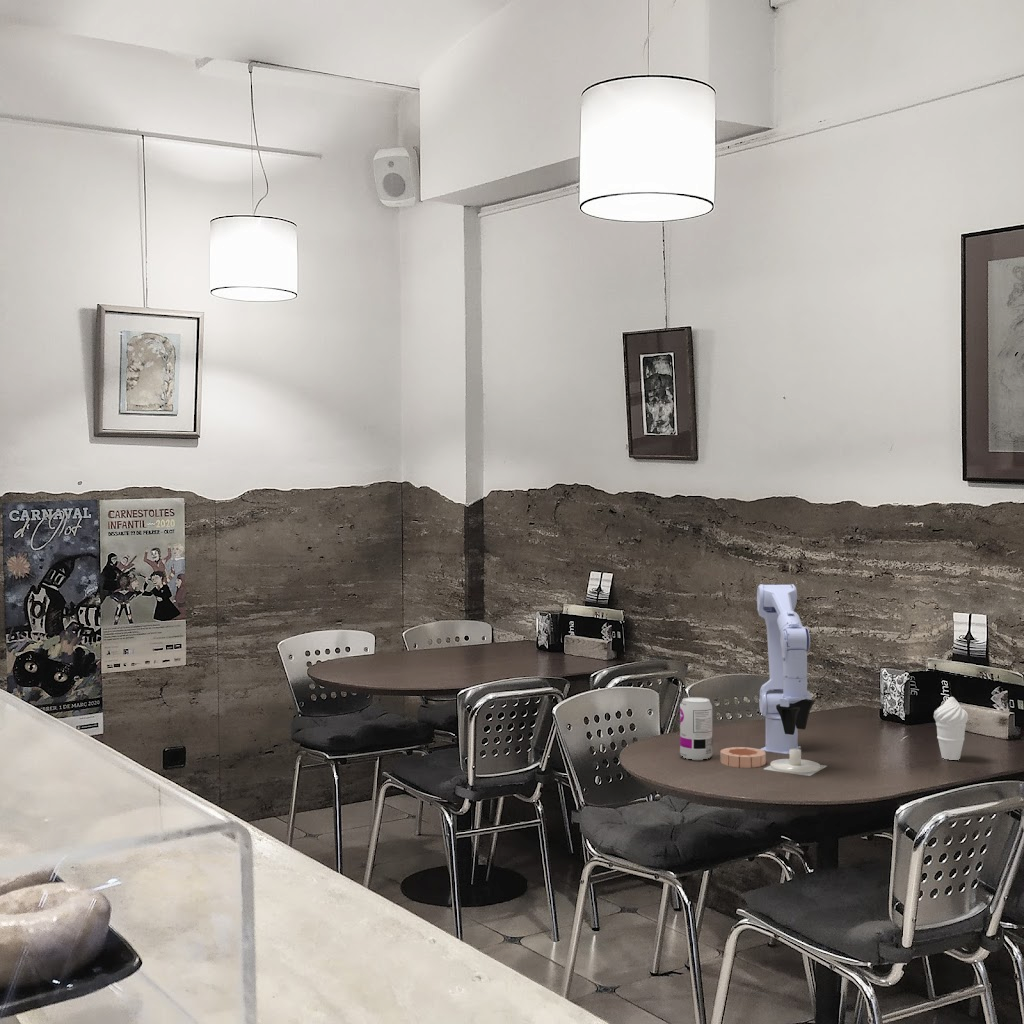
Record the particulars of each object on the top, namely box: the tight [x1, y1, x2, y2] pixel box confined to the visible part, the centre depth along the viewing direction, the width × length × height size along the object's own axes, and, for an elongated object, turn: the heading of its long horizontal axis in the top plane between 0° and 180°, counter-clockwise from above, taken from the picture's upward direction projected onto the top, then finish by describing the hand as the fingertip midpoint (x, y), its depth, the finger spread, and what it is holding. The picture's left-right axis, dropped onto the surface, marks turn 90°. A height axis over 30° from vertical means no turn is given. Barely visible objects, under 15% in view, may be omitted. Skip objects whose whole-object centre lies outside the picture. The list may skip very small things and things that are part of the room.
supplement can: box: [679, 696, 713, 761], centre depth 300 cm, size 8×8×15 cm
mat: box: [763, 764, 828, 777], centre depth 287 cm, size 12×12×1 cm
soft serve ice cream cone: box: [933, 696, 969, 761], centre depth 296 cm, size 8×8×16 cm
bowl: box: [719, 746, 767, 769], centre depth 293 cm, size 11×11×3 cm
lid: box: [769, 748, 821, 774], centre depth 287 cm, size 12×12×4 cm
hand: (795, 731), depth 287 cm, fingers open, 7 cm apart
